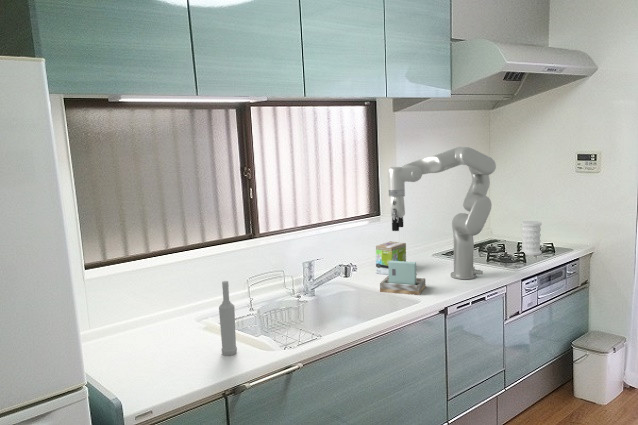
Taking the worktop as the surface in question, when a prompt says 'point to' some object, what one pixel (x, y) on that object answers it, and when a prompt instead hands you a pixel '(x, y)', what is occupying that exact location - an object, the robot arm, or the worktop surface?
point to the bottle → (227, 323)
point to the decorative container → (531, 237)
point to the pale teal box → (402, 272)
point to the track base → (403, 287)
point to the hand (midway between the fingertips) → (397, 228)
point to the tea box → (389, 255)
